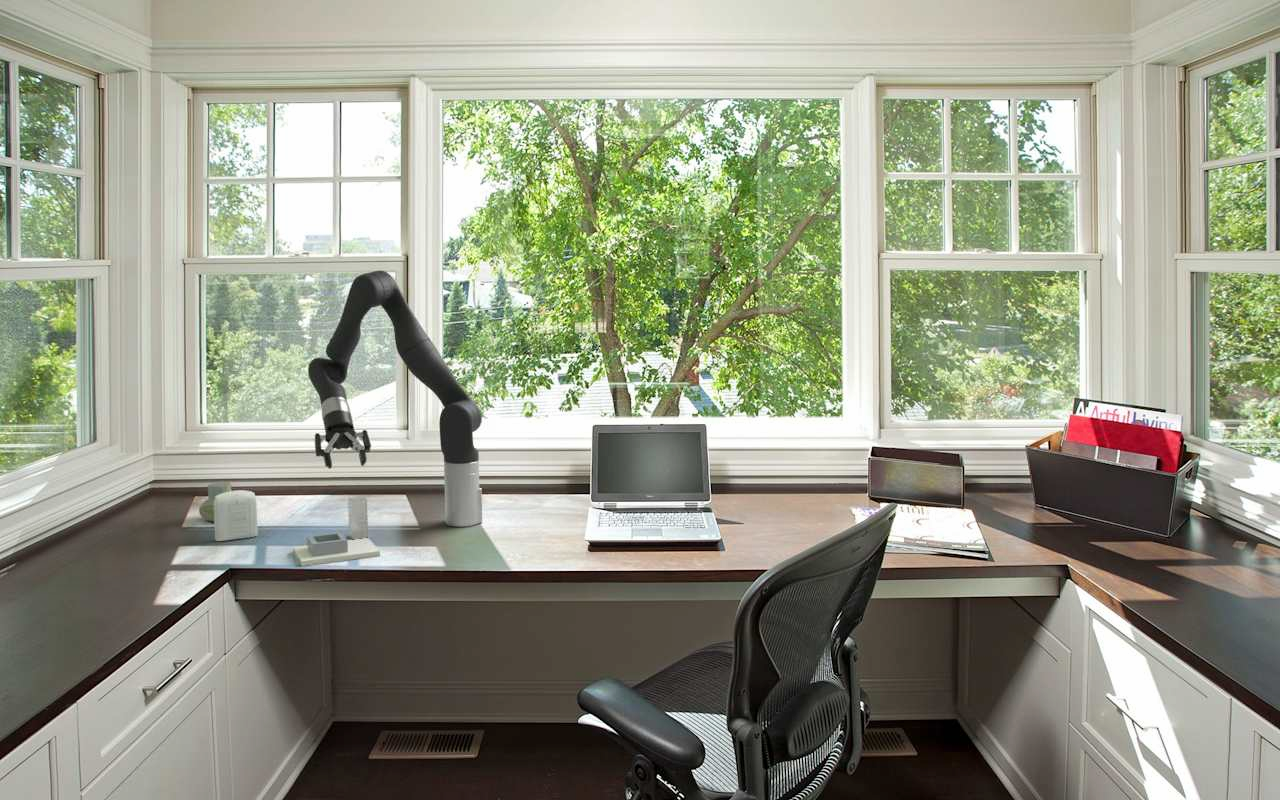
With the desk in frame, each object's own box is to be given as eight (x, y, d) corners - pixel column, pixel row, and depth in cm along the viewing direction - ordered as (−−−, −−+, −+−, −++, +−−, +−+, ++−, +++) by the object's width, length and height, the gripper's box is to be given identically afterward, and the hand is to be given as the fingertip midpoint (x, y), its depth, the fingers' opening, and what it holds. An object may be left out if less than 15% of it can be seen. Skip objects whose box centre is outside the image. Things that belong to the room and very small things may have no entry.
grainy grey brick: (365, 533, 252) (363, 496, 251) (368, 537, 249) (366, 499, 247) (349, 535, 250) (347, 498, 249) (352, 539, 247) (350, 501, 245)
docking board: (368, 542, 244) (367, 526, 244) (379, 555, 233) (379, 538, 232) (293, 551, 236) (292, 535, 235) (301, 566, 224) (300, 548, 224)
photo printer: (256, 533, 252) (253, 486, 251) (259, 537, 249) (257, 490, 247) (213, 539, 247) (211, 491, 245) (217, 543, 243) (214, 495, 242)
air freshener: (194, 522, 264) (191, 486, 262) (214, 514, 272) (212, 479, 270) (228, 524, 261) (226, 488, 260) (248, 517, 269) (246, 482, 268)
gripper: (311, 410, 261) (320, 459, 252) (365, 407, 267) (375, 455, 259) (309, 427, 266) (317, 475, 257) (361, 423, 273) (372, 470, 264)
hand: (346, 465), depth 258 cm, fingers open, 8 cm apart
